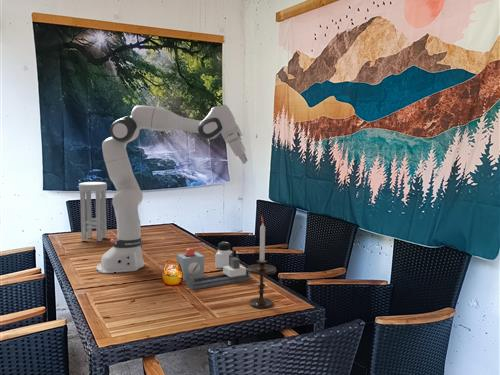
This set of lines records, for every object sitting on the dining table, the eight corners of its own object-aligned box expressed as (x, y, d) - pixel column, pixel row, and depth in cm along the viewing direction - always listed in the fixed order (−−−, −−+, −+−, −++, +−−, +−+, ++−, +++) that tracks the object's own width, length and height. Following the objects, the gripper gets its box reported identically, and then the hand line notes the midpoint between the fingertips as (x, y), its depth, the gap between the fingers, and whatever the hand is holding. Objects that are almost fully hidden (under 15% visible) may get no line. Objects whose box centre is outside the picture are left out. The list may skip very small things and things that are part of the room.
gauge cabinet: (184, 281, 195) (184, 259, 194) (176, 275, 203) (176, 254, 202) (204, 277, 201) (204, 256, 199) (196, 272, 208) (196, 251, 207)
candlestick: (254, 311, 163) (255, 218, 159) (242, 301, 173) (244, 213, 169) (280, 307, 167) (282, 216, 163) (267, 297, 177) (269, 211, 173)
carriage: (230, 277, 194) (230, 261, 193) (223, 272, 200) (223, 257, 199) (245, 274, 198) (246, 259, 197) (238, 270, 204) (238, 255, 203)
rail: (192, 289, 185) (192, 279, 184) (185, 284, 192) (185, 274, 191) (250, 279, 199) (250, 270, 198) (241, 274, 206) (241, 265, 205)
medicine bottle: (229, 269, 215) (229, 244, 213) (215, 267, 216) (215, 244, 215) (232, 264, 222) (232, 241, 220) (219, 263, 223) (219, 240, 222)
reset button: (187, 260, 199) (187, 250, 198) (184, 258, 202) (184, 248, 202) (196, 259, 201) (196, 249, 200) (192, 256, 204) (192, 247, 204)
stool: (102, 243, 262) (101, 184, 258) (76, 242, 262) (74, 184, 258) (111, 237, 277) (109, 182, 273) (86, 236, 277) (85, 181, 273)
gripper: (229, 138, 220) (241, 163, 222) (224, 140, 200) (238, 167, 202) (240, 132, 220) (252, 157, 221) (237, 133, 199) (250, 161, 201)
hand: (245, 162), depth 211 cm, fingers open, 8 cm apart
